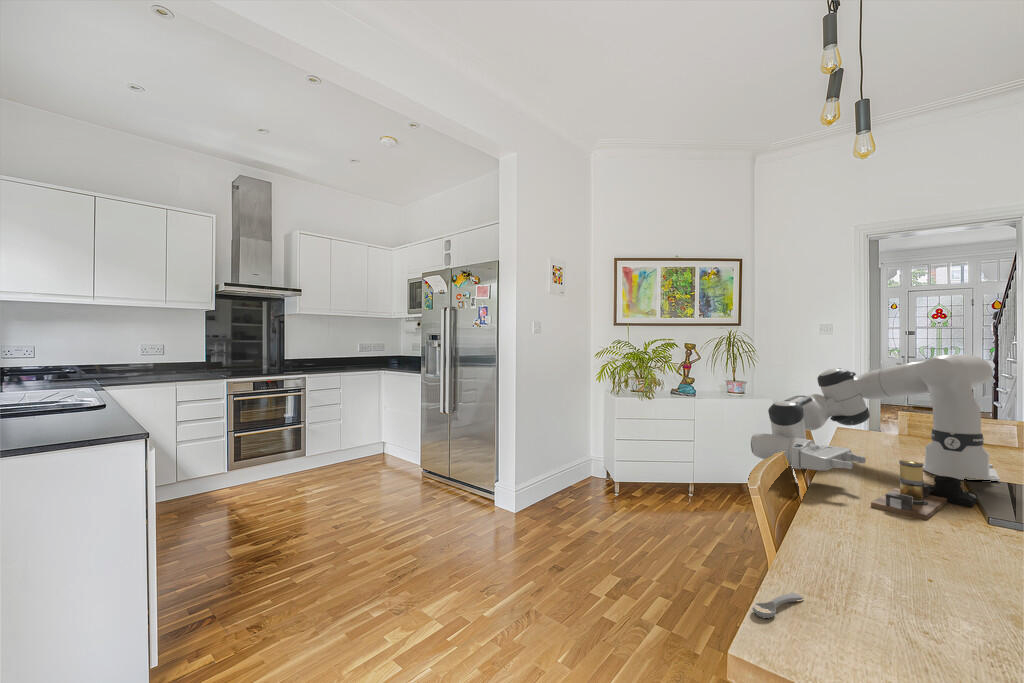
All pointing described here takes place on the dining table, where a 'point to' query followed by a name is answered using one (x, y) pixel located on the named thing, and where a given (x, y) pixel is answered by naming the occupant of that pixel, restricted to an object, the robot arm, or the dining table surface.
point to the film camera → (952, 491)
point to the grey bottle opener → (776, 604)
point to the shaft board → (916, 508)
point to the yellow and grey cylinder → (911, 479)
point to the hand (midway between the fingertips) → (858, 462)
